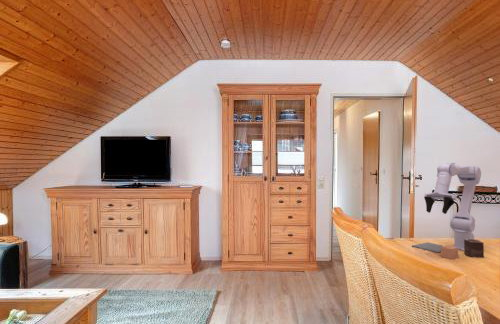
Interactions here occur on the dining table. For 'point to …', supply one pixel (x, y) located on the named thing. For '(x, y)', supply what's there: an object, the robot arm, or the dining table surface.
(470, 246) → the box
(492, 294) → the dining table surface
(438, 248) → the mat
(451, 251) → the cube
